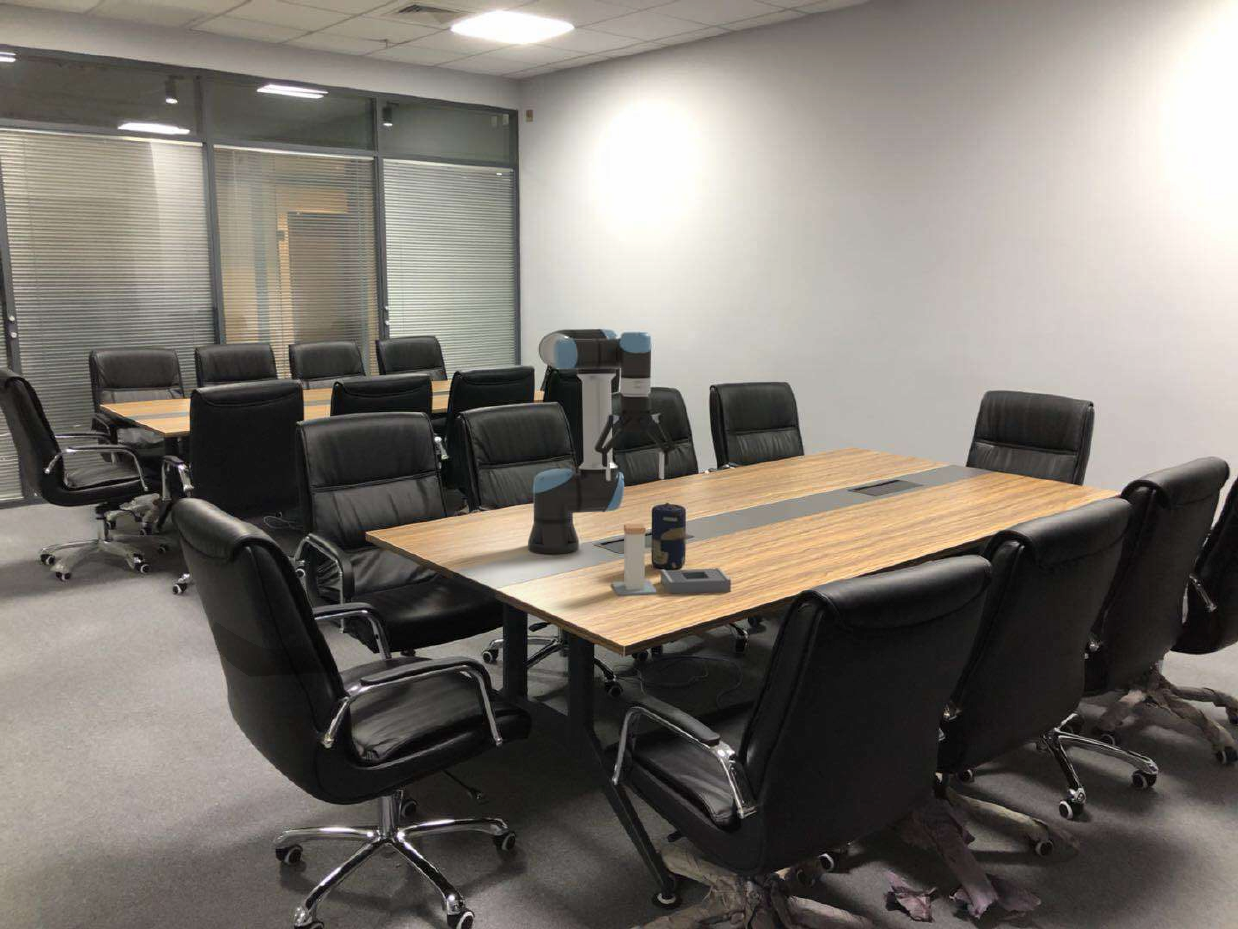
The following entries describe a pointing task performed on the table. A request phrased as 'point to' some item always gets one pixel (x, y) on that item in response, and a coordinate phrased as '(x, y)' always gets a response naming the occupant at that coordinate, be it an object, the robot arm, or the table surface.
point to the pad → (622, 589)
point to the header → (695, 581)
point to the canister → (668, 536)
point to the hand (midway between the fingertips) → (634, 479)
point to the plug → (634, 556)
